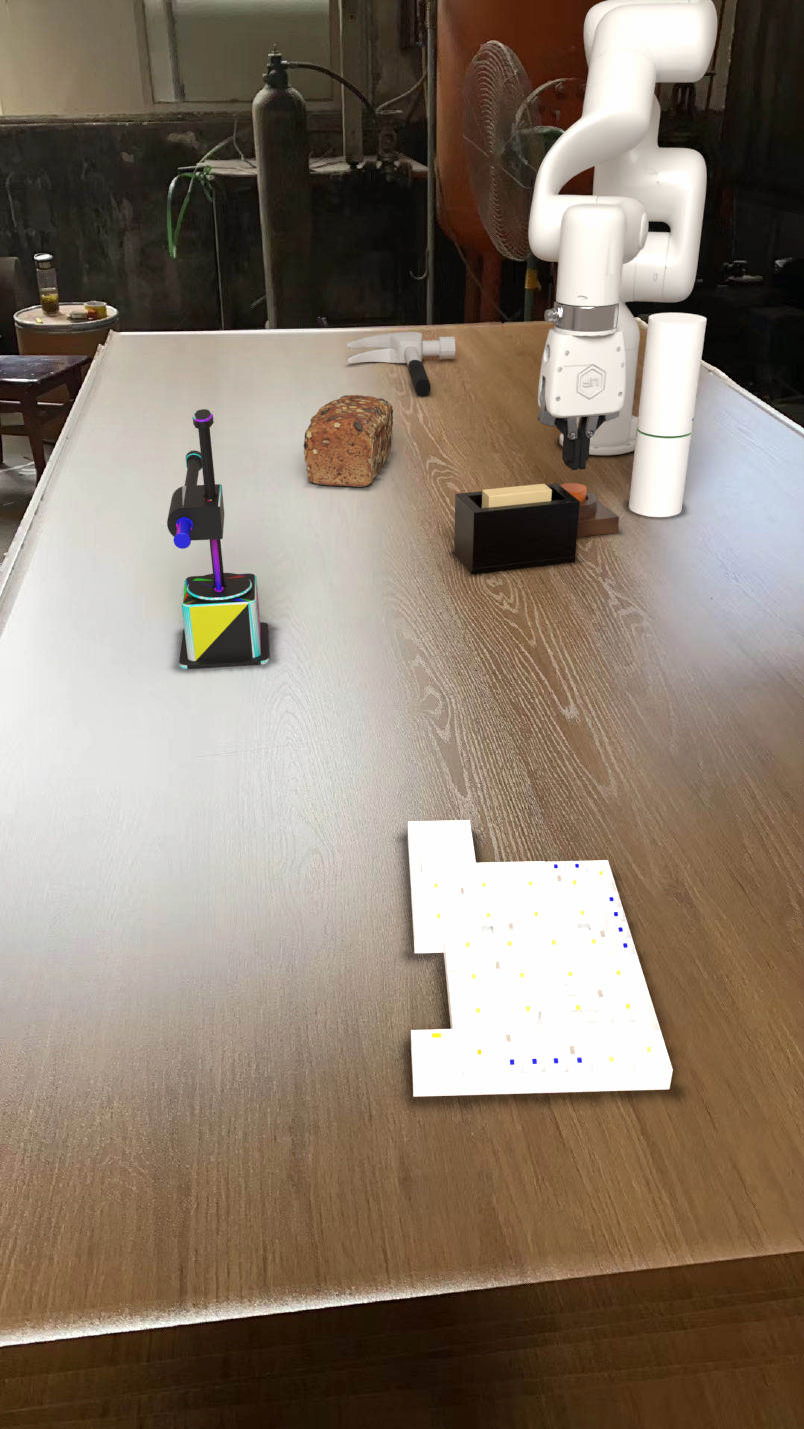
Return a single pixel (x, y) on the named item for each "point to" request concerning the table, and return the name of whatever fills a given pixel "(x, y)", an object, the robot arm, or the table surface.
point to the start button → (576, 490)
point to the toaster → (515, 532)
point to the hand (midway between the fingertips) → (574, 466)
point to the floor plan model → (528, 975)
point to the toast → (515, 495)
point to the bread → (348, 441)
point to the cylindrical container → (666, 412)
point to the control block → (595, 518)
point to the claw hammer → (404, 353)
